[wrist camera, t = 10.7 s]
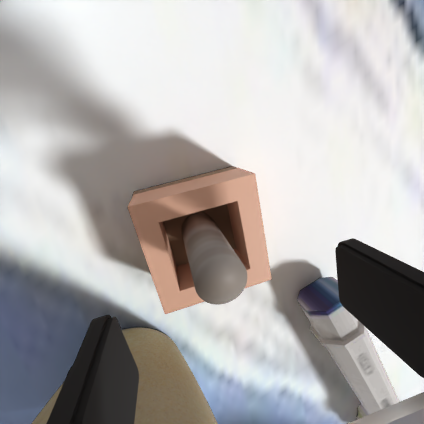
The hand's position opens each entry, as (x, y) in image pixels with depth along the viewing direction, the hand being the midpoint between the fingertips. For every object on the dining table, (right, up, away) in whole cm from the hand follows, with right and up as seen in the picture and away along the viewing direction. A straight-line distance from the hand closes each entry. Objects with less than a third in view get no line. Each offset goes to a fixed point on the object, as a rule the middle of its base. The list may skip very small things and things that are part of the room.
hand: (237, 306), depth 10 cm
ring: (-2, +3, +7) cm, 8 cm away
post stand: (-2, +3, +8) cm, 9 cm away
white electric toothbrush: (+14, -12, +16) cm, 25 cm away
